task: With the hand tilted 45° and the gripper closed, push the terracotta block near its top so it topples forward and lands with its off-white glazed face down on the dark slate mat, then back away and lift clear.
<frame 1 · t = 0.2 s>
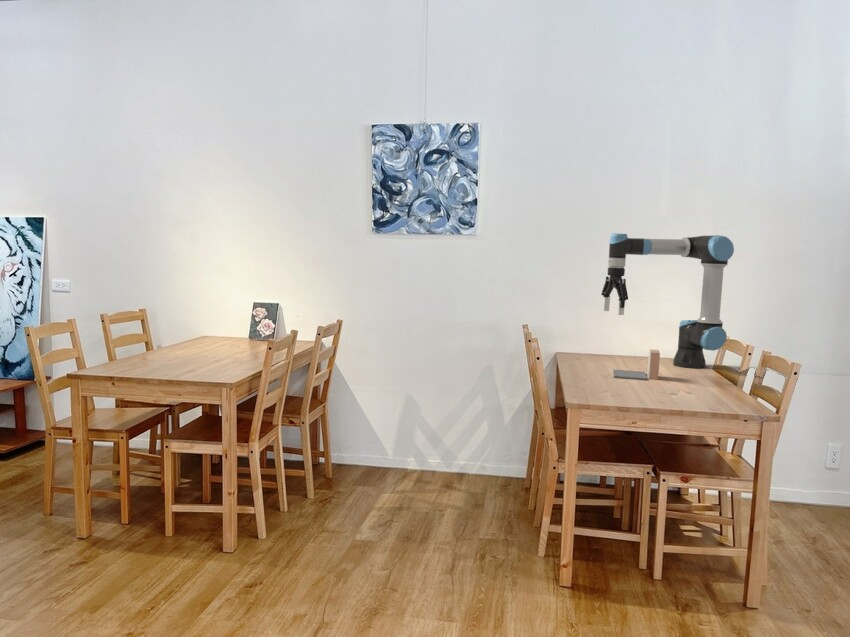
hand: (613, 313, 306), 27 cm above the table, fingers open, 13 cm apart
slate mat: (629, 375, 300), on the table
terracotta block: (652, 377, 298), on the table
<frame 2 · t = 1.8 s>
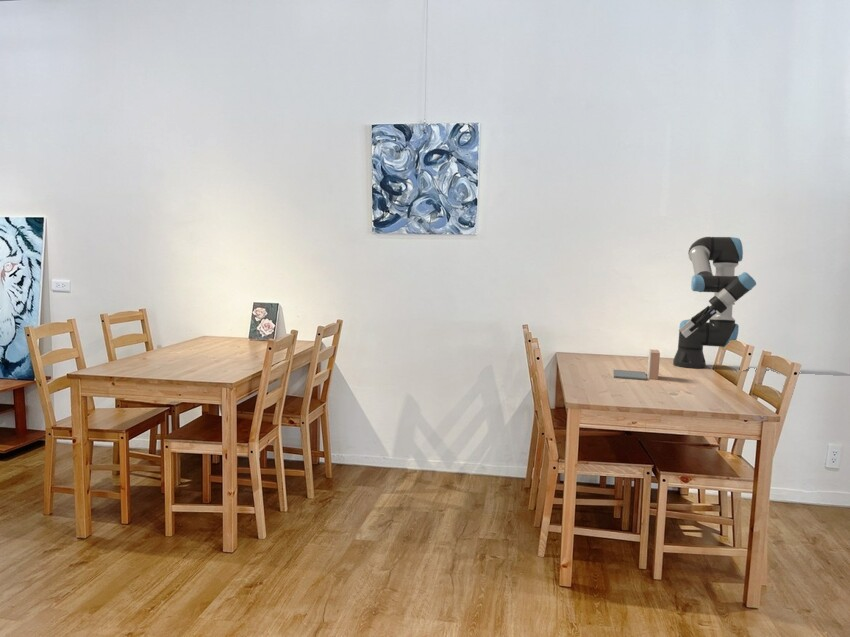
hand: (682, 333, 293), 21 cm above the table, fingers open, 12 cm apart
nothing on the table moved.
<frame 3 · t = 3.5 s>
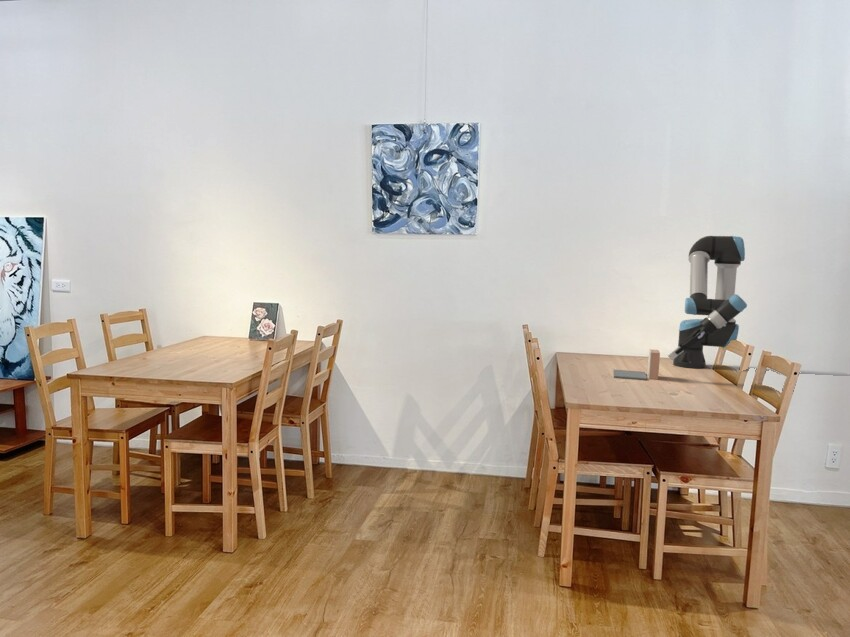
hand: (669, 357, 295), 9 cm above the table, fingers closed
nothing on the table moved.
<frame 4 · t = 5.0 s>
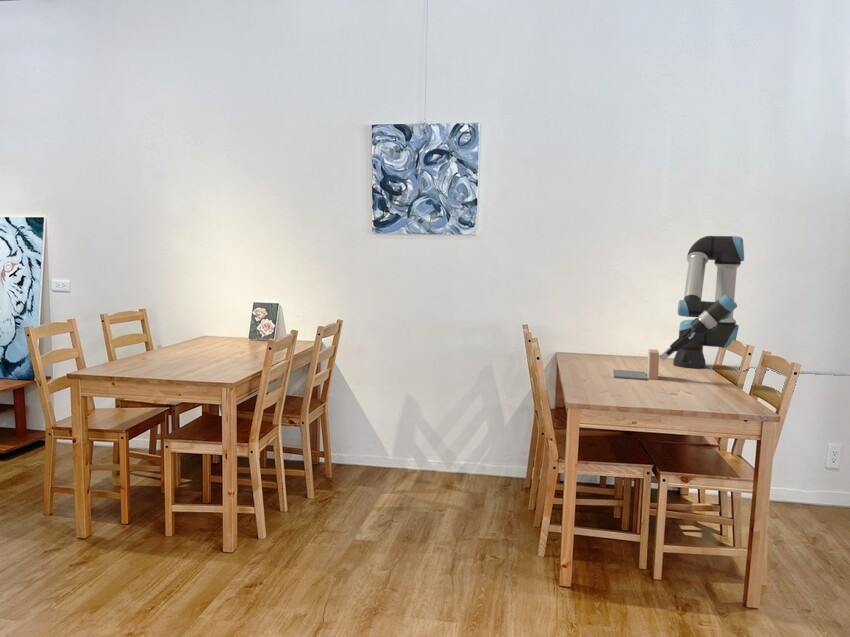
hand: (661, 358, 295), 9 cm above the table, fingers closed
terracotta block: (652, 377, 298), on the table, touching gripper
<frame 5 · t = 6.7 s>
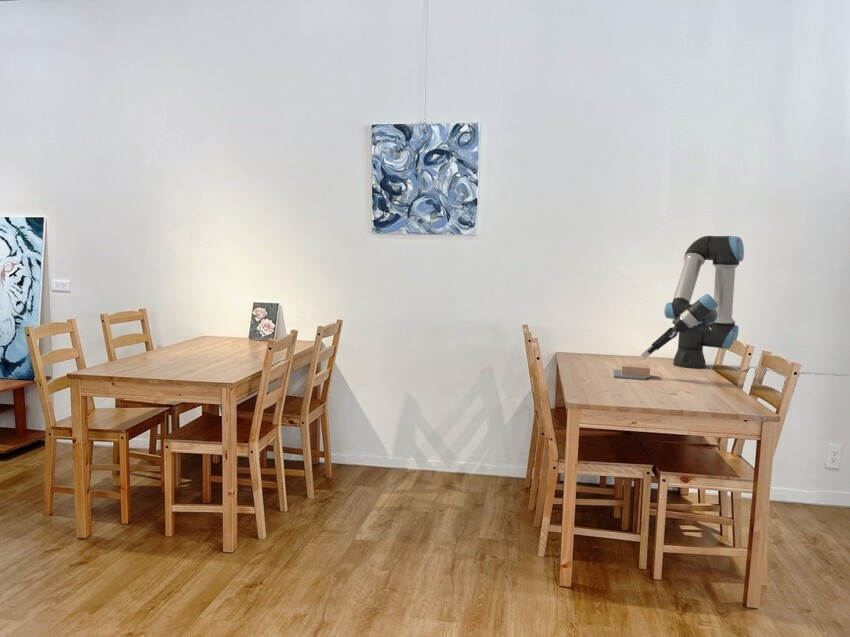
hand: (642, 356, 298), 9 cm above the table, fingers closed
terracotta block: (649, 370, 298), point 3 cm above the table, tilted 90°, touching slate mat
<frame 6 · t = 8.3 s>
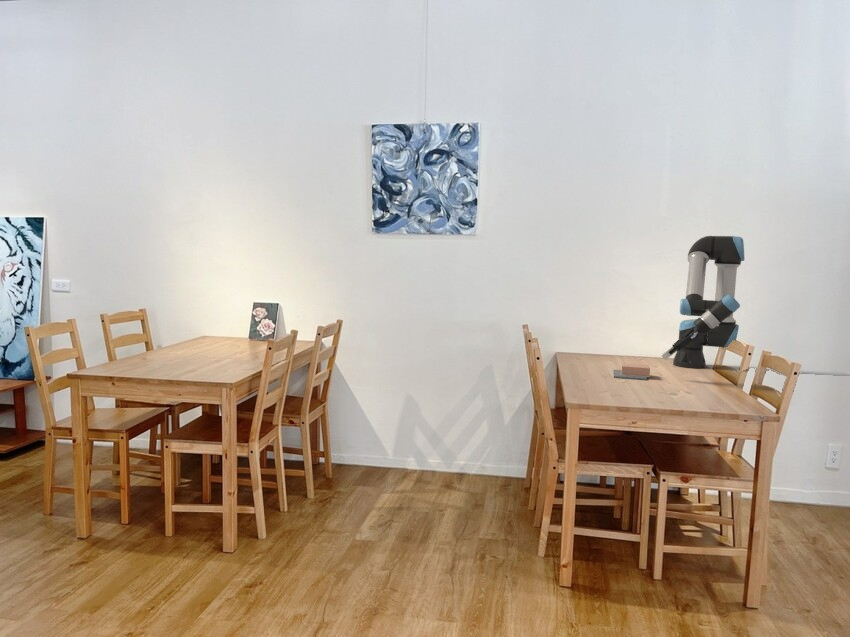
hand: (663, 357, 296), 9 cm above the table, fingers closed
nothing on the table moved.
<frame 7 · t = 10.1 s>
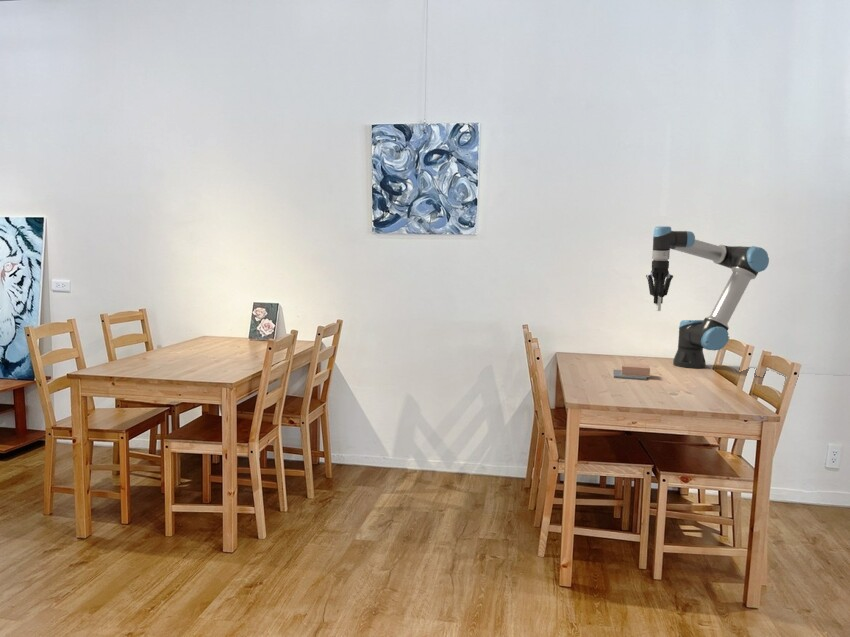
hand: (657, 310, 308), 29 cm above the table, fingers closed
nothing on the table moved.
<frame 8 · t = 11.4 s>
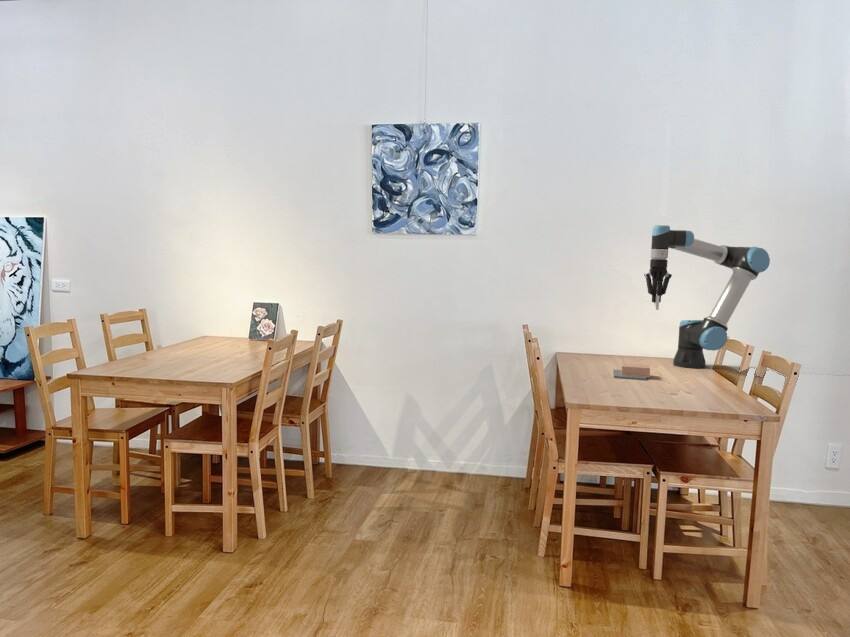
hand: (655, 309, 309), 29 cm above the table, fingers closed
nothing on the table moved.
at the end: terracotta block tilted 90°; terracotta block touching slate mat; the gripper is holding nothing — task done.
